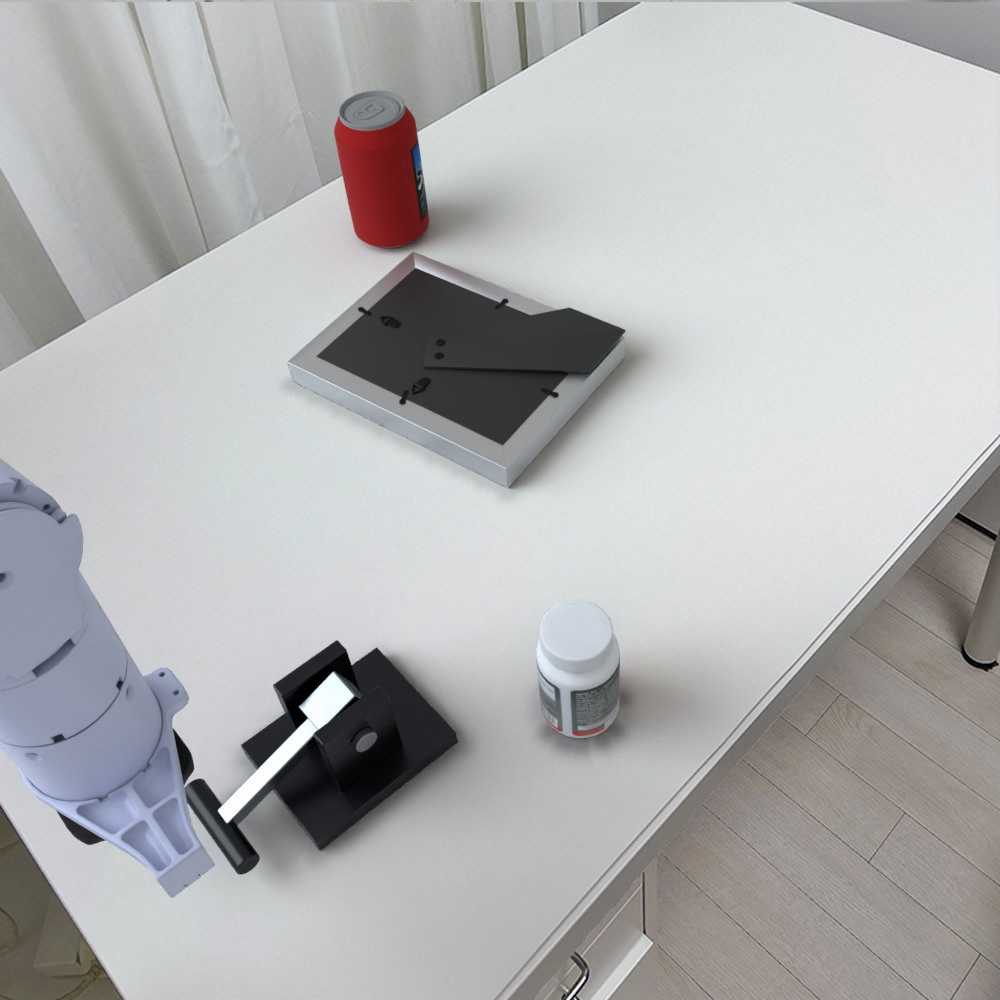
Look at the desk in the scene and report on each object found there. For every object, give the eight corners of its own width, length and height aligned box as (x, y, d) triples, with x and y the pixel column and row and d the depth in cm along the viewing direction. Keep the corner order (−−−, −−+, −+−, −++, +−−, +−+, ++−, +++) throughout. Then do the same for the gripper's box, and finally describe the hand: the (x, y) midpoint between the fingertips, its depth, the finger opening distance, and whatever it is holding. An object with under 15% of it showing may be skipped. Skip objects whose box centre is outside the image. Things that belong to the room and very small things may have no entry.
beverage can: (446, 227, 98) (430, 103, 89) (390, 264, 95) (368, 140, 86) (394, 199, 101) (374, 77, 92) (339, 234, 98) (312, 112, 89)
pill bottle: (628, 681, 67) (631, 604, 61) (607, 749, 64) (608, 675, 58) (553, 662, 68) (549, 584, 62) (530, 728, 66) (522, 653, 59)
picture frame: (625, 357, 86) (416, 271, 94) (625, 329, 83) (411, 243, 92) (508, 488, 78) (292, 381, 86) (505, 462, 76) (284, 354, 84)
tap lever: (250, 878, 60) (227, 871, 58) (195, 801, 63) (171, 792, 61) (393, 729, 61) (376, 718, 59) (333, 661, 65) (314, 648, 63)
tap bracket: (319, 851, 62) (293, 799, 57) (245, 754, 66) (214, 697, 61) (458, 742, 65) (446, 683, 60) (379, 657, 70) (361, 595, 64)
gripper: (241, 742, 40) (314, 884, 50) (63, 516, 47) (159, 680, 58) (63, 871, 37) (179, 993, 47) (-95, 610, 45) (35, 764, 55)
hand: (160, 828), depth 52 cm, fingers closed
